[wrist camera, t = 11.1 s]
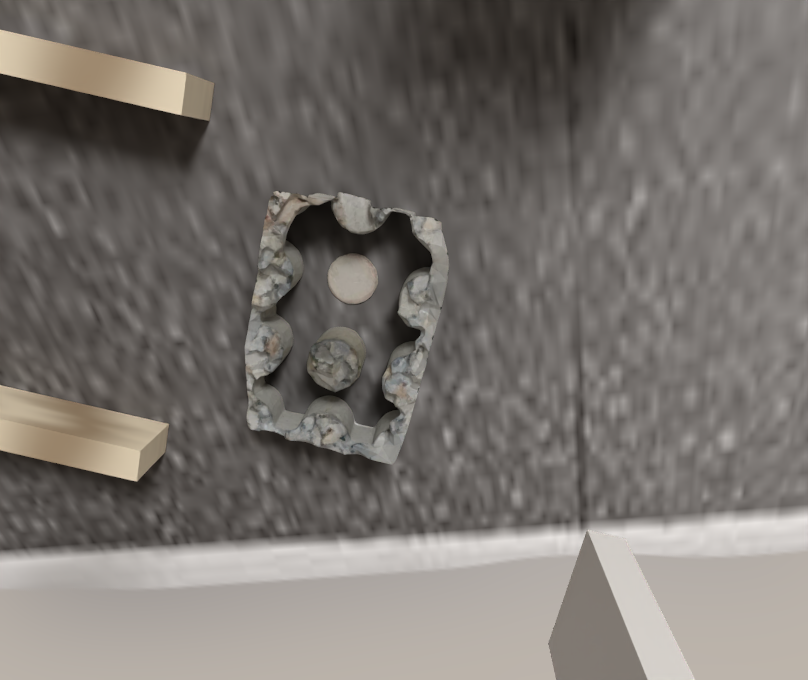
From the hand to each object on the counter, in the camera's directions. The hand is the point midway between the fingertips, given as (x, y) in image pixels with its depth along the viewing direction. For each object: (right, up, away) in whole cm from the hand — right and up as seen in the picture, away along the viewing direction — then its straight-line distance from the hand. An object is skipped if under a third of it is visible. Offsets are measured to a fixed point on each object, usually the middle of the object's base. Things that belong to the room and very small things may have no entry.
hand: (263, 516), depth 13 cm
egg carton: (0, +5, +16) cm, 17 cm away
